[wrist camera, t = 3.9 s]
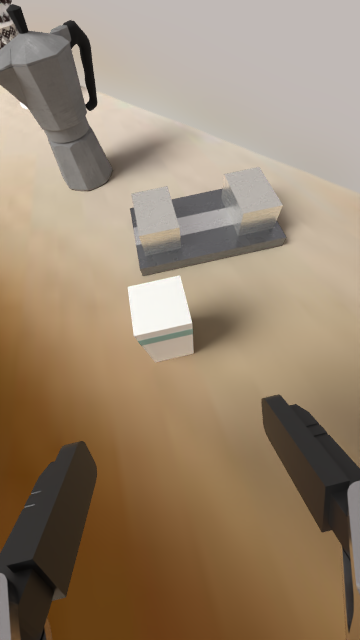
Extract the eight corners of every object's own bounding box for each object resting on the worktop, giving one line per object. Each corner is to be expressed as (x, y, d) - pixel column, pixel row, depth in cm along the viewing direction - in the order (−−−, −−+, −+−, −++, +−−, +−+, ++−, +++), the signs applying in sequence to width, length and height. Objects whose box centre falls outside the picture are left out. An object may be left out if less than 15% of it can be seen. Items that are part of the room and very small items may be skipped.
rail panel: (252, 191, 34) (260, 157, 30) (282, 245, 29) (297, 214, 25) (132, 216, 34) (122, 186, 29) (142, 276, 29) (132, 250, 24)
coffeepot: (80, 205, 36) (-17, 31, 19) (46, 188, 39) (-65, 21, 22) (137, 157, 40) (97, -17, 24) (103, 144, 43) (46, -20, 27)
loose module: (185, 318, 26) (180, 275, 18) (193, 353, 24) (192, 323, 16) (149, 326, 26) (127, 286, 18) (155, 362, 24) (133, 336, 16)
